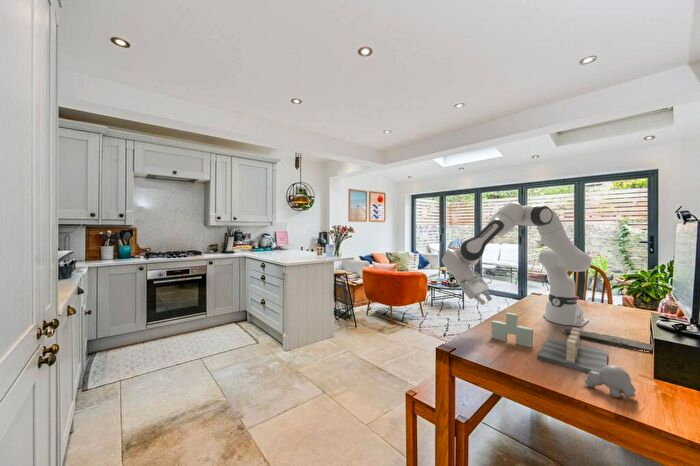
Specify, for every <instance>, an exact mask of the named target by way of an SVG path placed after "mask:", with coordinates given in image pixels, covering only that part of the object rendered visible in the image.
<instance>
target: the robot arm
mask: <svg viewBox="0 0 700 466" xmlns="http://www.w3.org/2000/svg"><path fill="white" fill-rule="evenodd" d="M515 226H524V227H536V228H537V231H538V233H539V236H540V239H541V240H542V243H543V245H544V246H545V247H546V248H548V249H543V250H541V251H540V253H539V255H538V261H539V263H540V264H541V265H542V267H544V269H545V270H546V272H547V275H548V278H549V294H548V301H547V302H546V305H545V314H544V313H543V315H542V317H543V318H545V320H547V321H549V322H552V323H554V324H559V325H562V326H563V325H564V326H565V325H566V326H575V327H583V326H584V325H585V324H588V323H589V318H587V317H584V310H583V308H581V307H580V305H578V301H579V299H580V297H579V296H577V295H576V281H575V280H574V279H573V278H571V276H569V273H568V272H574V273H575V272H577V273H579V272H586V271H587V270H589V269H590V267H591V265H592V259H591V257H590V255H589V254H588V253H587V252H584V251H582V250H581V249H579V248H578V247H577V246H576V245H575V244H574V243H573V242H572V241H571V240H570V238H569V237H568V234H567V232H566V230H565V228H564V225H563V223H562V222H561V219H560V218H559V216H558V215H557V212H555V210H554V209H551V208H550V207H548V206H547V205H544V204H527V205H521V204H520V203H519V202H517V201H516V202H515V201H510V202H508V203H507V204H505V205H504V206H502V207H501V208H500V209H499V210H497V212H496V213H494V214H493V216H492V217H491V218H490V219H489V221H488V223H487V224H486V225H485V227H484V228H482V230H480V232H478V233H477V234H476V235H475V236H473V237H471V238H468V239H466V240H464V242H462V243H461V246H460V248H457V249H448V250H446V252H445V253H444V254H443V255H442V257H441V263H442V264H443V266H444V267H445V269H446V270H447V271H448V272H449V273H450V274H451V275H452V276H453V277H454V279H455V280H456V282H457V283H458V284H459V285H460V289H461V290H462V291H463V293H464V295H466V297H467V298H468V299H470V300H473V299H475V300H476V302H479V304H480V305H481V306H484V305H485V304H486V303H487V302H486V301H485V300H484V299H483V298H482V297H481V296H480V295H482V294H483V296H485V298H486V300H487V301H488V302H490V301H492V300H493V298H492V296H491V295H490V292H488V291H489V289H490V286H489V285H488V284H487V283H486V281H485V280H484V279H483V278H482V277H481V275H480V273H479V272H478V271H474V270H472V269H471V267H473V266H475V265H477V264H478V263H479V261H480V259H481V258H482V257H483V254H484V251H485V248H486V247H487V245H488V244H489V243H490V242H491V241H492V240H494V238H495V237H497V236H498V237H499V236H500V237H503V236H505V235H508V233H509V232H511V231H512V230H514V228H515Z"/></svg>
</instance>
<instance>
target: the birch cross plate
mask: <svg viewBox="0 0 700 466" xmlns="http://www.w3.org/2000/svg"><path fill="white" fill-rule="evenodd" d="M571 329H572V330H571V335H569V336H568V338H567V340H566V341H564V340H559V339H554V338H550V337H548V338H547V339H546V341H545V343H544V345H543V346H542V347H541V349H540V350H539V352H538V354H537V360H539V361H543V362H546V363H550V364H553V365H557V366H562V367H564V368H565V367H566V368H569V369H573V370H576V371H580V372H583V373H587V374H589V372H588V371H590V372H591V370H590V368H591V369H592V370H593V371H596V372H600V370H601V369H602V368H603V367H604V366H607V365H608V352H609V351H608V350H604V349H599V348H595V347H591V346H586V345H581V344H580V340H581V339H580V331H581V328H578V327H572V328H571Z"/></svg>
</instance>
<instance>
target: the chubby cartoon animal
mask: <svg viewBox="0 0 700 466" xmlns="http://www.w3.org/2000/svg"><path fill="white" fill-rule="evenodd" d="M590 370H591V372H590V371H588V372H589V373H587V376H586V377H585V376H584V375H582V380H583V381H584V383H585V384H586V386H587V387H589V388H595V387H596V386H597V387H598V386H599V387H600V386H603V385H604V386H606V388H608V389H609V394H610V395H611V397H612V398H616V399H617V398H621V397H623V396H624V397H625V398H635V396H636V394H635V392H636V388H635V387H634V385H633V383H632V379H631V376H630V374H629V373H628V372H627V371H626V370H625V369H623V368H622V367H621V366H619V365H612V364H607V366H604V367H603V368H602V369H601V370H600V372H596V371H593V370H592V369H591V368H590Z"/></svg>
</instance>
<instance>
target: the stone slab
mask: <svg viewBox="0 0 700 466" xmlns="http://www.w3.org/2000/svg"><path fill="white" fill-rule="evenodd" d="M571 330H572V328H571V329H570V328H564V330H563V333H565V334H566V335H567V336H568V337H569V335H571ZM580 340H583V341H588V342H589V341H590V342H593V343H598V344H603V345H608V346H612V345H613V347H616V346H618V347H617V348H622V347H624V348H623V349H626V348H630V349H629V350H631V349H636V350H643V351H644V350H645V351H650V352H651V351H653V350H652V349H653V348H652V346H653V345H652V344H651V343H646V342H641V341H638V340H637V341H636V340H632V339H629V338H625V337H621V336H615V335H610V334H603V333H602V334H601V333H596V332H591V331H584V330H580ZM636 350H635V351H636Z"/></svg>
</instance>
